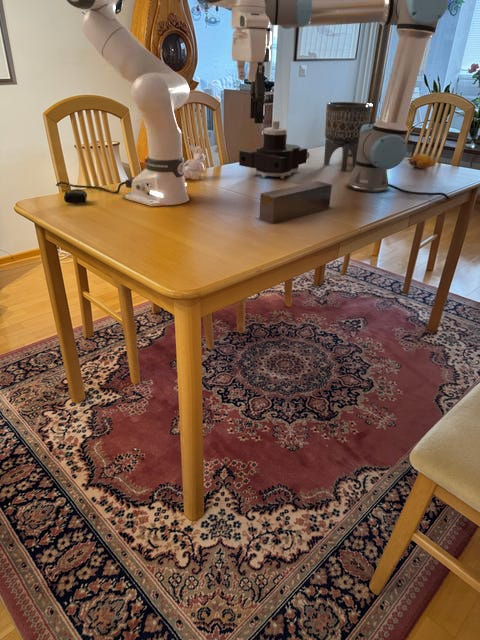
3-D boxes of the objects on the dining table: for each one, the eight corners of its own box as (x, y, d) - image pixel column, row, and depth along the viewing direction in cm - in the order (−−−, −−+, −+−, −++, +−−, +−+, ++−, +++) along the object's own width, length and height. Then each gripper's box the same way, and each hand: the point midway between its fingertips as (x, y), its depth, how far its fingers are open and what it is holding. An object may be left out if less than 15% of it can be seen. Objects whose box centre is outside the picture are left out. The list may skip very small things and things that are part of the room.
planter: (313, 167, 208) (319, 103, 195) (331, 160, 222) (338, 101, 209) (353, 173, 199) (362, 107, 185) (369, 166, 213) (379, 104, 199)
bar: (315, 204, 156) (318, 180, 152) (329, 208, 153) (331, 184, 149) (259, 218, 141) (260, 193, 137) (272, 223, 137) (274, 197, 133)
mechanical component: (240, 120, 182) (283, 115, 202) (239, 174, 192) (280, 164, 212) (283, 126, 170) (325, 120, 190) (280, 183, 180) (320, 171, 200)
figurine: (211, 176, 188) (211, 144, 182) (188, 183, 178) (187, 149, 171) (196, 173, 192) (195, 142, 186) (172, 180, 181) (170, 146, 175)
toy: (410, 161, 206) (404, 154, 219) (412, 175, 209) (406, 167, 222) (436, 153, 203) (428, 146, 216) (438, 167, 206) (430, 160, 219)
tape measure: (64, 205, 148) (62, 194, 146) (68, 199, 154) (66, 188, 152) (86, 205, 149) (84, 193, 147) (89, 199, 155) (87, 188, 153)
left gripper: (226, 22, 127) (226, 78, 134) (247, 18, 110) (245, 82, 117) (248, 23, 128) (246, 78, 135) (272, 19, 111) (268, 82, 118)
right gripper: (243, 47, 153) (242, 116, 164) (250, 46, 132) (249, 125, 142) (265, 48, 154) (262, 116, 164) (276, 47, 132) (272, 125, 143)
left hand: (246, 80), depth 126 cm, fingers open, 8 cm apart
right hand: (256, 120), depth 153 cm, fingers open, 13 cm apart
